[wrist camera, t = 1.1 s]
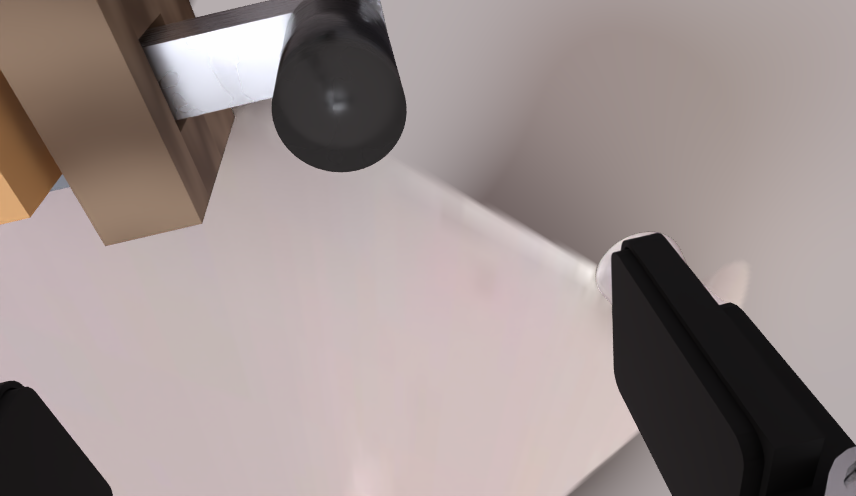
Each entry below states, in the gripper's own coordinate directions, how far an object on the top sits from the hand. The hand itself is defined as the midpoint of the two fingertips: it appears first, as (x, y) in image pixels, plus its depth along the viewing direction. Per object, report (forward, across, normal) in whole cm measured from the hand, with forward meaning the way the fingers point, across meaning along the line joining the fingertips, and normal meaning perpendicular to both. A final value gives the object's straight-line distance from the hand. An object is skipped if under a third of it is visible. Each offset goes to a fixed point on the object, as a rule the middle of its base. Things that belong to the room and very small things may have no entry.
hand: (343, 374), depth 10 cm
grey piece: (+21, +7, 0) cm, 22 cm away
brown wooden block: (+26, +9, 0) cm, 28 cm away
